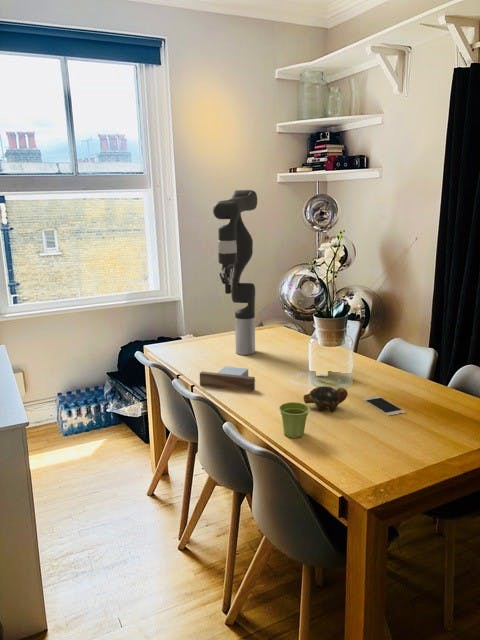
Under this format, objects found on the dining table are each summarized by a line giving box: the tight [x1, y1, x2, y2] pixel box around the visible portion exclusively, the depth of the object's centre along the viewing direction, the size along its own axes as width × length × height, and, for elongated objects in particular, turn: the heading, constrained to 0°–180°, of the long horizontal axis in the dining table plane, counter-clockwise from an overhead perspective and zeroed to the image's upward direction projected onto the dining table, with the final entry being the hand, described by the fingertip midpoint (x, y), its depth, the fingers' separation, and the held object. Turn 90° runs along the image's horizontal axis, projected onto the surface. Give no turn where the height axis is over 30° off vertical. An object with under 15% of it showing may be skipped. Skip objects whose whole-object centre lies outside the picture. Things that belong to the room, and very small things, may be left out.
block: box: [217, 365, 249, 376], centre depth 208 cm, size 11×10×4 cm
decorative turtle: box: [303, 385, 349, 413], centre depth 180 cm, size 10×15×8 cm, turn 80°
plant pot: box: [278, 401, 311, 439], centre depth 160 cm, size 9×9×9 cm
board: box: [199, 371, 256, 392], centre depth 201 cm, size 2×22×5 cm, turn 70°
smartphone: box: [362, 396, 406, 416], centre depth 181 cm, size 7×16×1 cm, turn 21°
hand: (228, 293), depth 215 cm, fingers closed
